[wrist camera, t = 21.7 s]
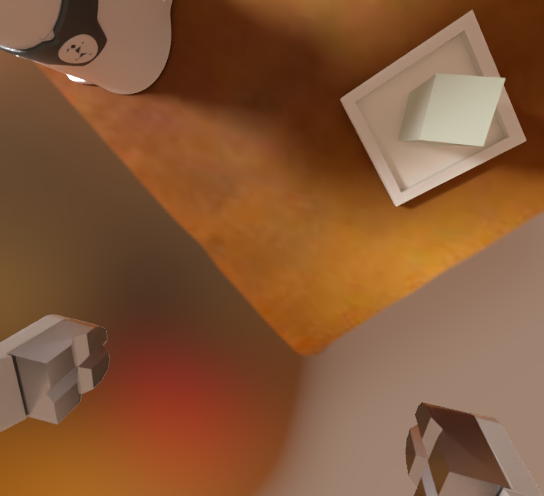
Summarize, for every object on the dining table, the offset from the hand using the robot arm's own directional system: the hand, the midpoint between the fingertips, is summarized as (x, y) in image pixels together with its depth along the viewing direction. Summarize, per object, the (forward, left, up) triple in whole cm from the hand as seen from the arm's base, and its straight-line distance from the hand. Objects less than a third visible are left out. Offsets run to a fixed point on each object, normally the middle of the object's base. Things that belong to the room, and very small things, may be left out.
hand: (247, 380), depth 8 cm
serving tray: (-1, +14, -34) cm, 37 cm away
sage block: (-1, +14, -33) cm, 36 cm away
